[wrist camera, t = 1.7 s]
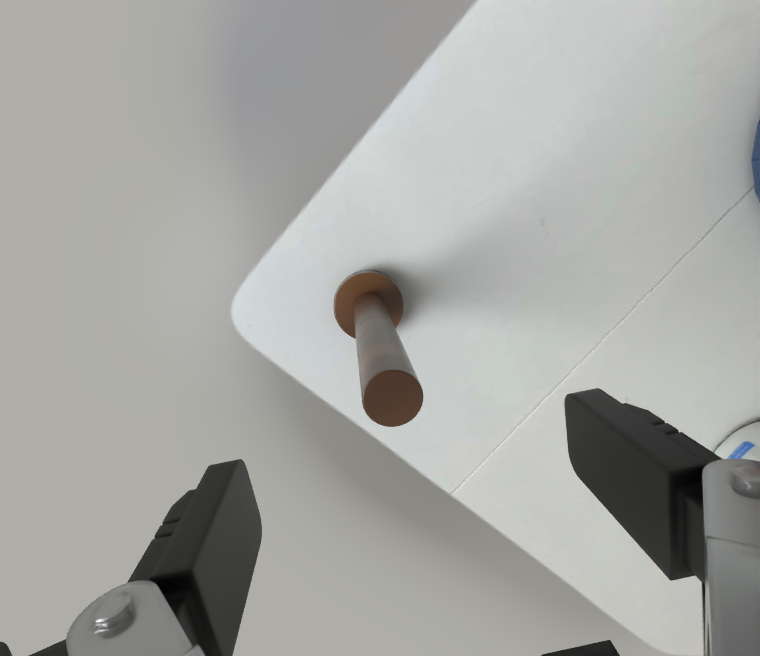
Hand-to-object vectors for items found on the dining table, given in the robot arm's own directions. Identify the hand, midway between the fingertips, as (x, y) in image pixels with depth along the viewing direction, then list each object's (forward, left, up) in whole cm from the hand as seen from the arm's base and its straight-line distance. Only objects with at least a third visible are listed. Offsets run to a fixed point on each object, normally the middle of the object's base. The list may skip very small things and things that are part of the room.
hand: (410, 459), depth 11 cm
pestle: (0, 0, -19) cm, 19 cm away
